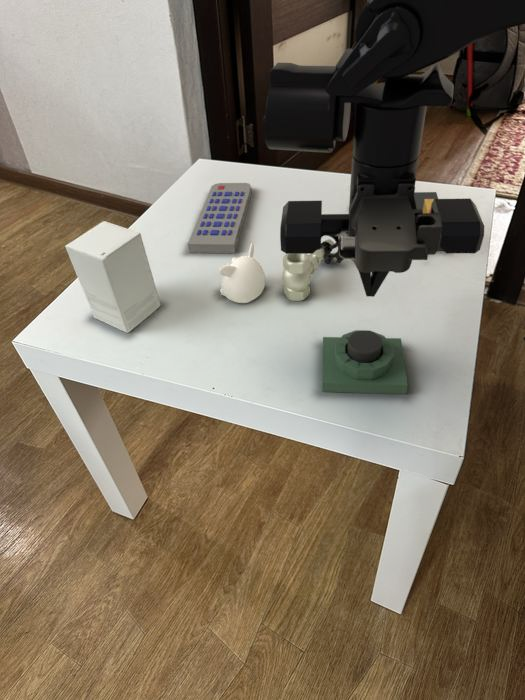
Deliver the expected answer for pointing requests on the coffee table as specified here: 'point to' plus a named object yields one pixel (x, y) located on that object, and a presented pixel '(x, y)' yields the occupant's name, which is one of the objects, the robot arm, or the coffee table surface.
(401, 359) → the button box
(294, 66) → the robot arm
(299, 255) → the valve
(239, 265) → the figurine
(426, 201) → the tap handle
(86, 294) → the white packaging box
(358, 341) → the button
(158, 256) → the coffee table surface
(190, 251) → the remote control
